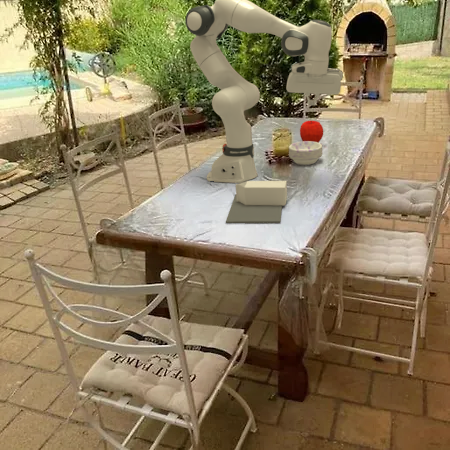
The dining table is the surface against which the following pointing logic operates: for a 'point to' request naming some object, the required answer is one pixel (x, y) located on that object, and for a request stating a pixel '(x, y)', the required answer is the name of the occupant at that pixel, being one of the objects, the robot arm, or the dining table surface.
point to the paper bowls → (305, 152)
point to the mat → (253, 213)
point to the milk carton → (262, 192)
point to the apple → (311, 131)
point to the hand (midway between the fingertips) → (311, 104)
